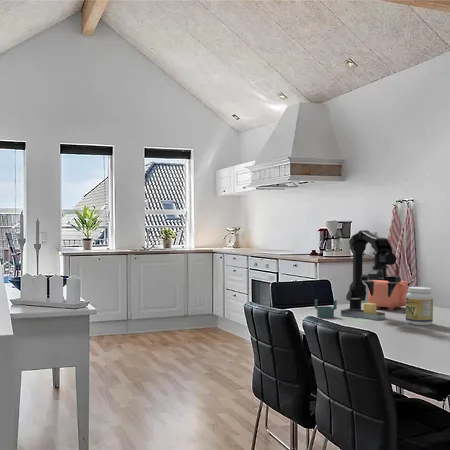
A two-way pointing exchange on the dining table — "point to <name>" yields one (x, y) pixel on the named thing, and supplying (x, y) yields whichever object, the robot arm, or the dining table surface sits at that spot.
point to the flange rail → (362, 314)
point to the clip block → (370, 308)
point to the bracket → (326, 310)
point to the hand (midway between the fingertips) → (380, 296)
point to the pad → (361, 320)
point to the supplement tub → (419, 306)
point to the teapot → (382, 297)
